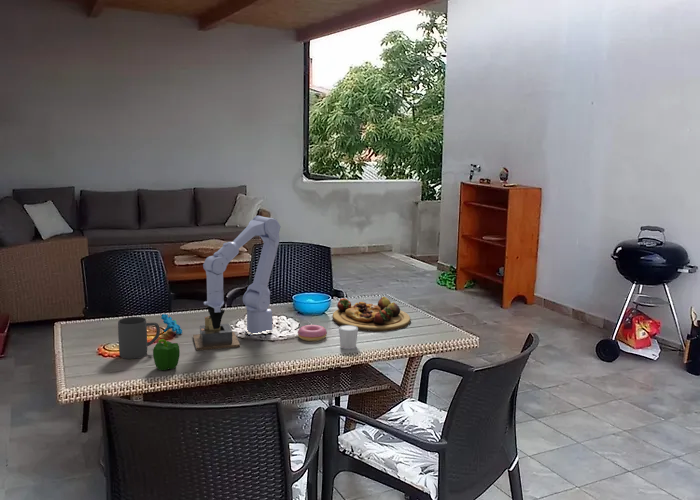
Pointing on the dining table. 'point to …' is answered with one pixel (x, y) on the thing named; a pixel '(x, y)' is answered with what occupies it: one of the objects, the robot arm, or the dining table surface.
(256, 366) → the dining table surface
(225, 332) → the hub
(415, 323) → the dining table surface
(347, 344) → the shot glass
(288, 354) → the dining table surface
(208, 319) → the keyed shaft
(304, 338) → the doughnut
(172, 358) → the bell pepper
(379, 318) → the wooden plate with food
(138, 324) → the mug
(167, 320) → the gear
